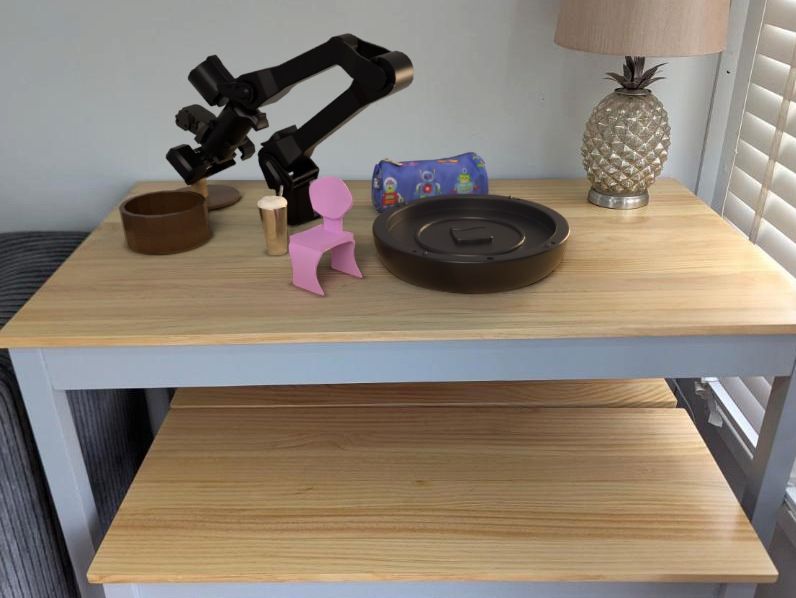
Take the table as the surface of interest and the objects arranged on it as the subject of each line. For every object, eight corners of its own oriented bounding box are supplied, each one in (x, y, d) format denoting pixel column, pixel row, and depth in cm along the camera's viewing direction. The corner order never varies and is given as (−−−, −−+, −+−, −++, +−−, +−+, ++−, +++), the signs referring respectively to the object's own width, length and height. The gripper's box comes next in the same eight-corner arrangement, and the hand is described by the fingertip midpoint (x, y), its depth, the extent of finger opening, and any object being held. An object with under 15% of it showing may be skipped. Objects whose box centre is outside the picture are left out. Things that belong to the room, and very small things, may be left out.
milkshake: (299, 247, 126) (294, 187, 121) (281, 258, 122) (275, 197, 117) (276, 243, 128) (269, 183, 123) (257, 254, 124) (250, 193, 119)
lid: (254, 201, 147) (250, 164, 143) (183, 219, 138) (177, 180, 135) (216, 185, 156) (211, 150, 153) (148, 201, 148) (141, 164, 145)
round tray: (363, 231, 132) (387, 307, 106) (362, 197, 129) (386, 266, 103) (533, 219, 136) (596, 289, 110) (535, 185, 133) (600, 250, 107)
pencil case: (375, 219, 137) (373, 166, 132) (366, 204, 144) (363, 153, 140) (493, 208, 141) (495, 156, 137) (478, 194, 149) (480, 144, 144)
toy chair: (285, 284, 114) (275, 183, 106) (328, 265, 119) (321, 169, 112) (325, 299, 109) (317, 195, 101) (367, 279, 115) (363, 179, 107)
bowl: (216, 224, 136) (210, 188, 133) (203, 253, 125) (197, 215, 121) (137, 227, 136) (130, 191, 133) (117, 256, 124) (109, 218, 121)
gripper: (234, 81, 143) (197, 136, 153) (164, 101, 128) (127, 160, 138) (274, 128, 143) (234, 180, 153) (208, 153, 129) (169, 208, 139)
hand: (192, 181), depth 146 cm, fingers closed on lid, 3 cm apart
